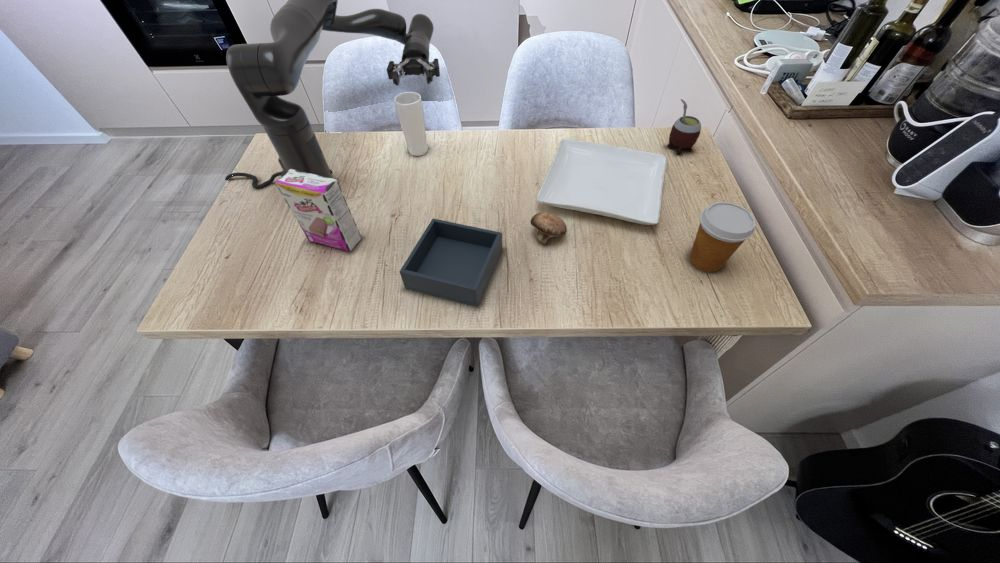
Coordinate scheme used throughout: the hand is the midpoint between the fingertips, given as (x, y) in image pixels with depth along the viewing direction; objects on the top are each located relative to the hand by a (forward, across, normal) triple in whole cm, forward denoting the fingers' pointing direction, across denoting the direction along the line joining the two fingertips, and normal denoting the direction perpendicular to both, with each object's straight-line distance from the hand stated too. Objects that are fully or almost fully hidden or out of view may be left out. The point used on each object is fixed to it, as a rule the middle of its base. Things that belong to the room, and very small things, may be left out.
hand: (412, 81), depth 106 cm
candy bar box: (+45, +16, -14) cm, 50 cm away
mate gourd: (+18, -70, -14) cm, 74 cm away
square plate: (+32, -47, -14) cm, 58 cm away
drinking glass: (+11, 0, -14) cm, 18 cm away
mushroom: (+47, -31, -14) cm, 58 cm away
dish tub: (+55, -10, -14) cm, 58 cm away
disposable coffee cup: (+58, -62, -14) cm, 86 cm away
